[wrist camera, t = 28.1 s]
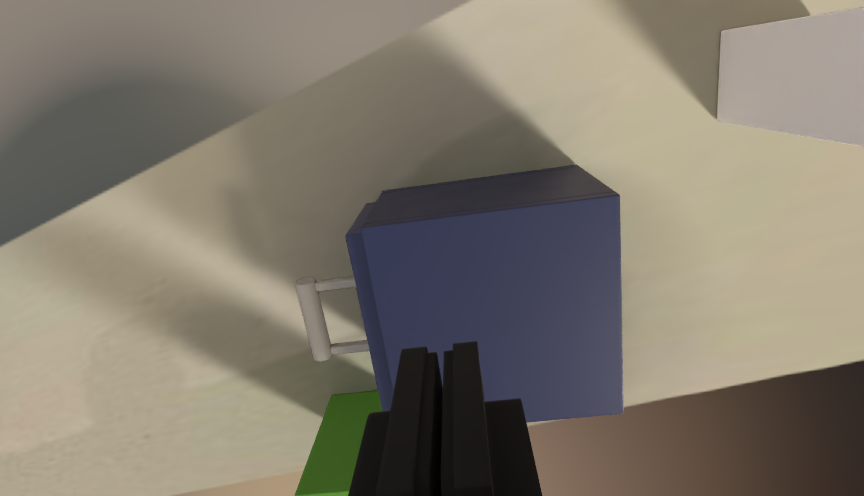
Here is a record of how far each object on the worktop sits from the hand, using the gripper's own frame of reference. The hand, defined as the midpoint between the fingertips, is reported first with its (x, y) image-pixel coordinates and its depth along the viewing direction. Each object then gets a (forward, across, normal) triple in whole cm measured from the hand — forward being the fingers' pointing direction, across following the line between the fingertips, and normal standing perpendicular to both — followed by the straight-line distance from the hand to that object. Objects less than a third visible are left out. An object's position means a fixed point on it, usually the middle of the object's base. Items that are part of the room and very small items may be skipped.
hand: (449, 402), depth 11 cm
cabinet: (+27, -2, +8) cm, 28 cm away
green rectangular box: (+27, +10, +20) cm, 35 cm away
